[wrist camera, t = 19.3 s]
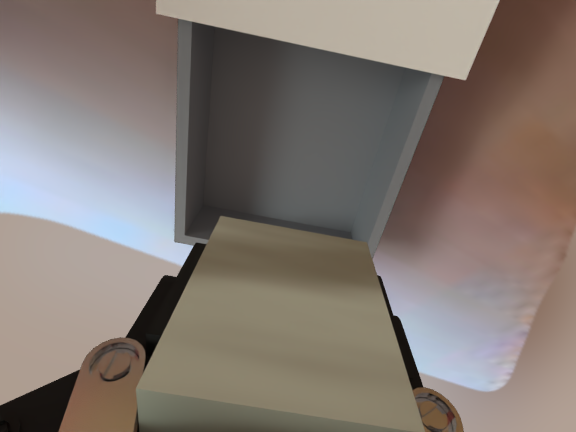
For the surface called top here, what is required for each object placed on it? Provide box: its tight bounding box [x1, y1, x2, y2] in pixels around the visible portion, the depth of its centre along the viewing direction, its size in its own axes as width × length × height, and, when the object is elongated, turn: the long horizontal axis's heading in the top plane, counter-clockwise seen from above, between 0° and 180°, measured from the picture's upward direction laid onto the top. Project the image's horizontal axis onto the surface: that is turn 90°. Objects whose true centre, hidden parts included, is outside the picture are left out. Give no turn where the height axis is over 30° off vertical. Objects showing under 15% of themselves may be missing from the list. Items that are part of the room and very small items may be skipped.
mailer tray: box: [174, 19, 444, 259], centre depth 22 cm, size 16×19×13 cm
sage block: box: [136, 216, 425, 432], centre depth 9 cm, size 5×5×6 cm
